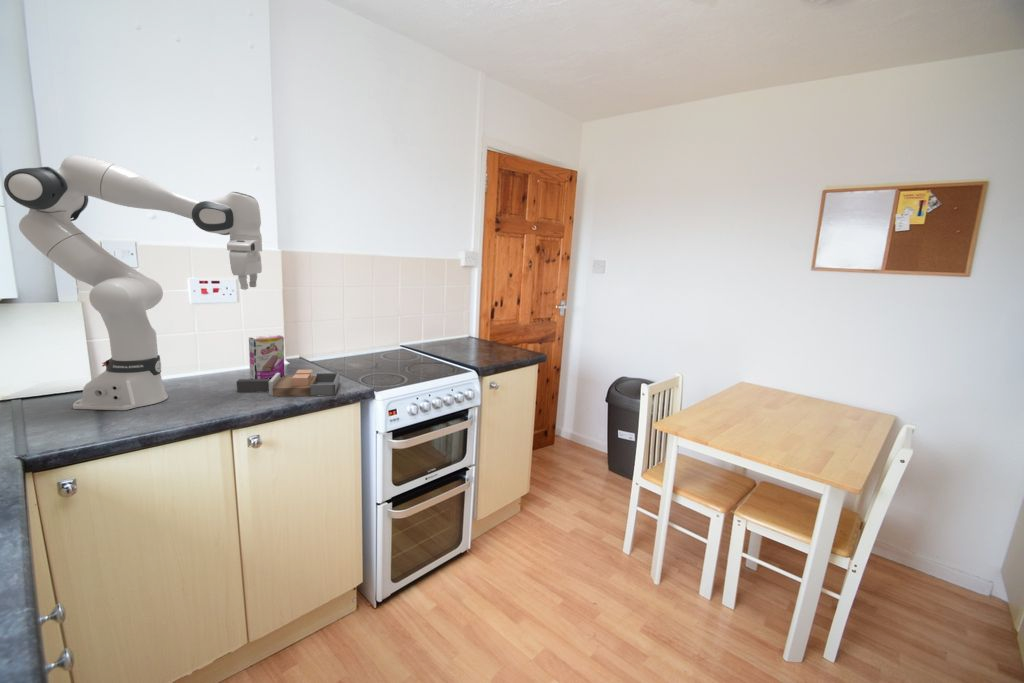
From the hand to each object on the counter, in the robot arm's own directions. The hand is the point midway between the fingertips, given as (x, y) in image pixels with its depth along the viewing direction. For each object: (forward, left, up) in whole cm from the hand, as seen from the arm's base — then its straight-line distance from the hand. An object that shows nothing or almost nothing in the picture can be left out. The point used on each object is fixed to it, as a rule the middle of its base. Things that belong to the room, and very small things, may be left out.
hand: (248, 288), depth 146 cm
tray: (+22, +5, -37) cm, 43 cm away
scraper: (-1, +5, -37) cm, 37 cm away
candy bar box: (-1, +22, -37) cm, 43 cm away
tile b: (+15, +8, -34) cm, 38 cm away
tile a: (+15, +2, -34) cm, 37 cm away
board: (+12, +5, -37) cm, 39 cm away
